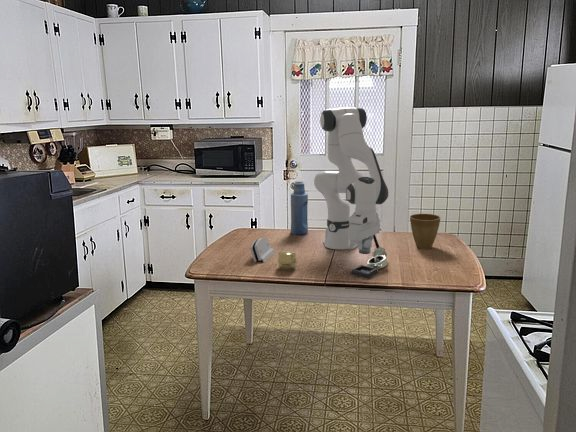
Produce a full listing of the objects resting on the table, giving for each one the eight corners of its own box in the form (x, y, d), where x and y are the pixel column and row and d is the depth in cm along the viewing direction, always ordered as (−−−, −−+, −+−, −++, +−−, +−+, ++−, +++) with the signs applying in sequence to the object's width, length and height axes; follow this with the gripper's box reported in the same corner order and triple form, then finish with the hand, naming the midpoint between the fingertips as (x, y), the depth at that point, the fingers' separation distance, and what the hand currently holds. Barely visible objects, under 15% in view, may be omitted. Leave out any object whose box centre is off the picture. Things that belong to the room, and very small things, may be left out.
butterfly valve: (386, 272, 213) (391, 257, 228) (372, 231, 208) (378, 218, 224) (368, 276, 216) (373, 261, 231) (353, 235, 212) (360, 222, 227)
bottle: (296, 229, 285) (295, 179, 278) (311, 231, 280) (310, 180, 273) (287, 233, 277) (286, 181, 270) (302, 235, 272) (302, 183, 265)
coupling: (362, 249, 213) (362, 236, 212) (373, 252, 210) (374, 238, 208) (355, 252, 209) (356, 239, 208) (367, 255, 206) (367, 241, 204)
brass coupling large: (286, 263, 227) (285, 249, 225) (299, 267, 222) (299, 252, 220) (274, 268, 221) (274, 253, 219) (288, 272, 216) (288, 257, 214)
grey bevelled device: (264, 262, 229) (256, 243, 227) (255, 265, 230) (247, 245, 229) (275, 252, 244) (268, 233, 243) (266, 254, 246) (259, 236, 245)
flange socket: (360, 268, 218) (360, 264, 218) (378, 273, 212) (378, 268, 212) (349, 274, 211) (350, 269, 211) (368, 279, 206) (368, 274, 205)
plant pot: (436, 243, 254) (438, 213, 250) (440, 252, 240) (442, 220, 236) (407, 242, 257) (408, 212, 253) (409, 250, 243) (410, 219, 239)
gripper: (371, 210, 215) (370, 240, 219) (346, 219, 200) (345, 251, 203) (384, 212, 212) (383, 243, 215) (359, 221, 196) (358, 254, 199)
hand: (364, 247), depth 209 cm, fingers closed on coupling, 6 cm apart
